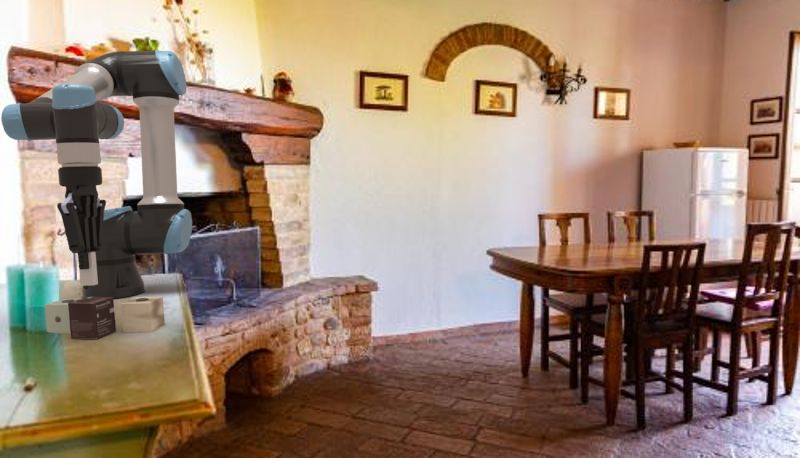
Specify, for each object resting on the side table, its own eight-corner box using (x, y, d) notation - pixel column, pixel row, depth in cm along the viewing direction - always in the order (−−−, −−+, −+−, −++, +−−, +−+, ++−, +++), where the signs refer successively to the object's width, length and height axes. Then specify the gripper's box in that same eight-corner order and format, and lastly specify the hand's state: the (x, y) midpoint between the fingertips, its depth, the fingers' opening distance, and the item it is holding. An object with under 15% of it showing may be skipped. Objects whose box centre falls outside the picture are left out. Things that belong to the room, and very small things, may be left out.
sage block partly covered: (69, 325, 130) (66, 297, 130) (92, 326, 129) (90, 297, 128) (46, 333, 124) (43, 303, 124) (71, 334, 123) (68, 304, 122)
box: (96, 340, 118) (93, 303, 117) (69, 339, 119) (66, 302, 118) (117, 331, 124) (114, 296, 123) (91, 331, 125) (88, 296, 124)
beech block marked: (137, 324, 129) (135, 296, 128) (164, 324, 128) (162, 295, 128) (123, 332, 123) (120, 302, 122) (151, 332, 123) (149, 302, 122)
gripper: (80, 166, 124) (89, 279, 127) (39, 166, 111) (50, 291, 114) (115, 165, 124) (124, 278, 126) (78, 164, 111) (88, 290, 113)
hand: (89, 284), depth 120 cm, fingers closed
